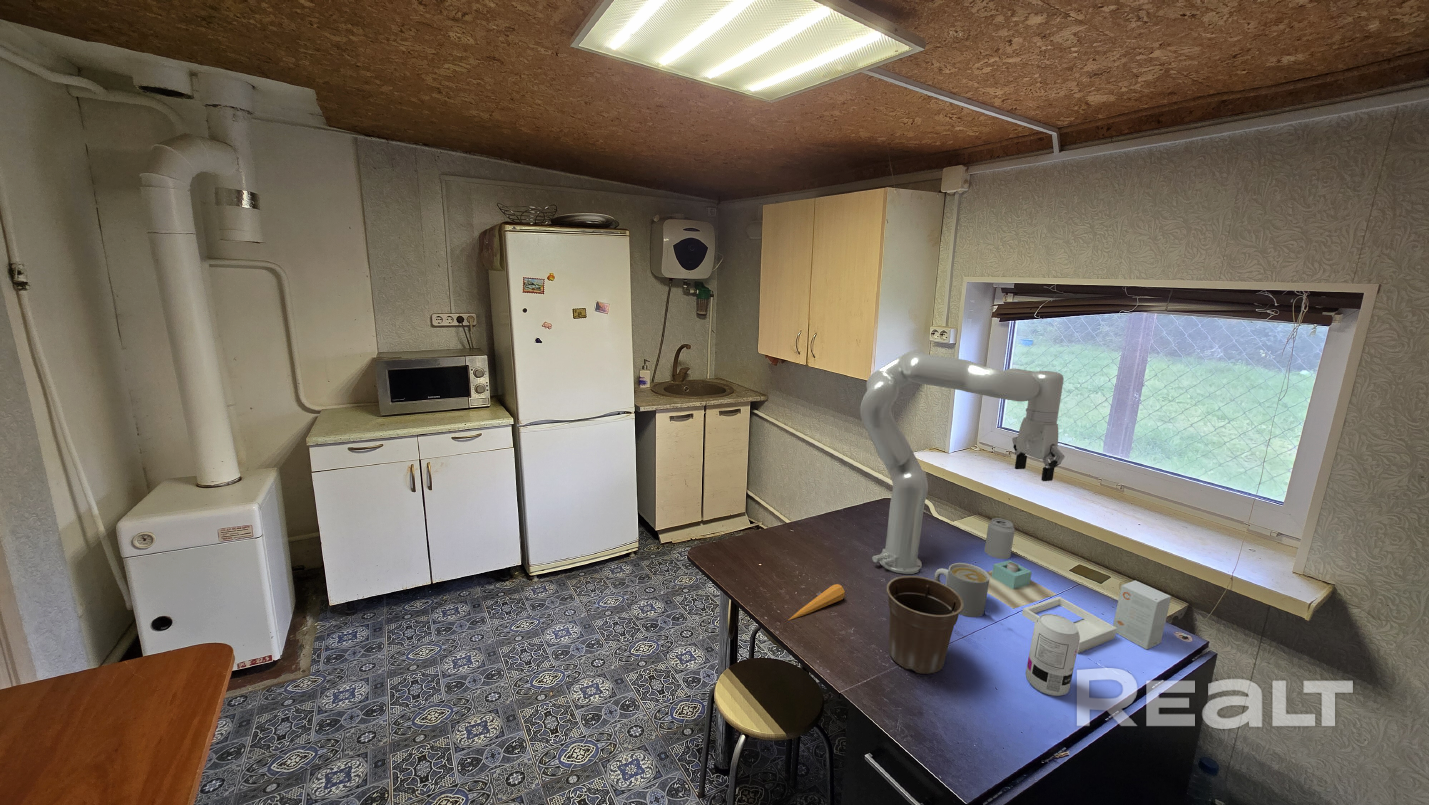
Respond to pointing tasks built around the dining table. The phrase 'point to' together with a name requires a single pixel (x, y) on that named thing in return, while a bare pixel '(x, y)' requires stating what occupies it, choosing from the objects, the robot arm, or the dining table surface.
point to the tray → (1077, 623)
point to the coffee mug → (967, 586)
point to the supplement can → (1052, 654)
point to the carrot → (822, 600)
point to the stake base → (1017, 591)
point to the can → (999, 538)
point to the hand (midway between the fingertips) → (1032, 474)
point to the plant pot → (921, 622)
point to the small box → (1141, 614)
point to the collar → (1011, 575)
